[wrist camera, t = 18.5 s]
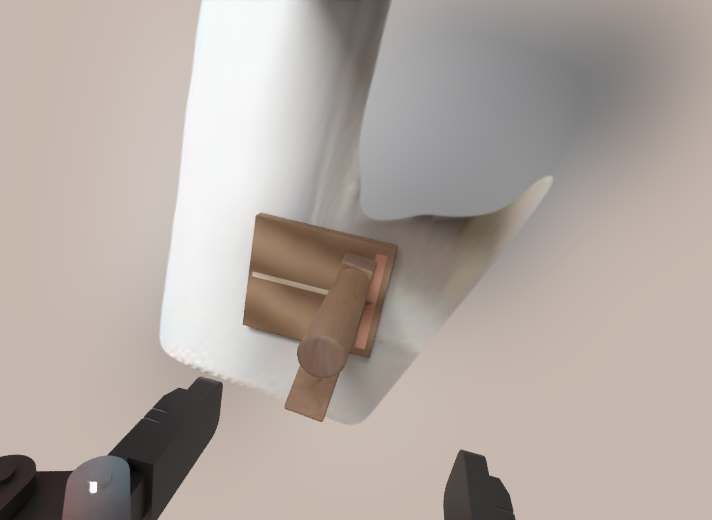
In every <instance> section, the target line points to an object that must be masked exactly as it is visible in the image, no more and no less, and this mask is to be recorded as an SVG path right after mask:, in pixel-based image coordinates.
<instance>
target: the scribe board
mask: <svg viewBox="0 0 712 520" xmlns="http://www.w3.org/2000/svg"><path fill="white" fill-rule="evenodd" d="M396 250H397V245H392V244H388V243H384V242H380V241H376V240H372V239H368V238H363V237H359V236H355V235H351V234H347V233H343V232H339V231H334V230H330V229H326V228H322V227H318V226H314V225H310V224H305V223H301V222H297V221H293V220H289V219H285V218H281V217H276V216H272V215H268V214H264V213H260V214H258V215H256V220H255V228H254V236H253V245H252V253H251V261H250V269H249V277H248V286H247V294H246V302H245V310H244V318H243V325H246V326H249V327H253V328H257V329H261V330H264V331H268V332H272V333H276V334H280V335H283V336H287V337H291V338H295V339H298V340H302V338H303V337H304V335H305V333H306V331H307V329H308V328H309V326H310V324H311V322H312V320H313V319H314V317H315V315H316V313H317V311H318V310H319V308H320V306H321V304H322V303H323V301H324V299H325V297H326V295H327V294H328V292H329V290H330V288H331V286H332V285H333V283H334V281H335V279H336V276H337V273H338V270H339V267H340V264H341V261H342V260H343V258H344V256H345V254H346V253H347V252H351V253H354V254H356V255H359V256H362V257H365V258H368V259H371V260H374V261H376V262H377V266H376V269H375V272H374V275H373V278H372V281H371V284H370V287H369V292H368V295H367V298H366V301H365V304H364V307H363V311H362V314H361V317H360V320H359V323H358V326H357V329H356V333H355V336H354V339H353V342H352V345H351V348H350V351H349V353H351V354H355V355H359V356H363V357H366V358H370V354H371V350H372V346H373V342H374V338H375V334H376V330H377V326H378V322H379V318H380V314H381V310H382V306H383V302H384V298H385V294H386V290H387V286H388V282H389V278H390V274H391V270H392V266H393V262H394V258H395V254H396Z"/></svg>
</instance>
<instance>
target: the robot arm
mask: <svg viewBox="0 0 712 520" xmlns="http://www.w3.org/2000/svg"><path fill="white" fill-rule="evenodd" d="M222 389H223V384H222V383H221V382H219V381H215V380H212V379H208V378H204V377H199V378H198V379H196V380H195V382H194V383H193V384H192V385H191V386H190V387H189V388H188V390H186V389H182V388H178V389H176V390H174V391H172V392H170V393H168V394H166V395H164V396H163V397H162V398H161V399H160V400H159V401H158V403H156V405H155V406H154V407H153V409H151V410H150V411H149V412H148V413H147V414H146V415H145V416H144V418H143V419H141V420H140V422H138V424H137V425H136V426H135V427H134V428H133V429H132V430H131V431H130V432H129V433H128V434H127V435H126V436H125V437H124V438H123V439H122V440H121V441H120V442H119V444H118V445H117V446H116V447H115V448H114V449H113V450H112V451H111V452H110V453H109V454H108V455H107V456H101V457H97V458H93V459H91V460H88V461H86V462H84V463H83V464H81V465H80V466H79V467H77V468H76V469H75V470H73V471H39V472H38V471H36V465H35V462H34V461H33V460H32V459H31V458H29V457H27V456H24V455H8V456H2V457H0V520H157V519H158V518H159V516H160V515H161V513H162V512H163V510H164V509H165V507H166V506H167V504H168V503H169V501H170V500H171V498H172V497H173V495H174V494H175V492H176V490H177V489H178V488H179V486H180V485H181V483H182V482H183V480H184V479H185V477H186V476H187V474H188V473H189V471H190V470H191V468H192V467H193V465H194V464H195V462H196V461H197V459H198V458H199V456H200V455H201V453H202V452H203V450H204V449H205V448H206V446H207V445H208V443H209V441H210V440H211V438H212V437H213V435H214V433H215V431H216V428H217V425H218V422H219V416H220V407H221V398H222ZM444 520H515V516H514V514H513V507H512V503H511V499H510V495H509V493H508V492H507V490H506V489H505V487H504V485H503V483H502V482H501V480H500V479H499V478H496V477H492V476H489V472H488V467H487V462H486V458H485V457H484V456H482V455H478V454H475V453H471V452H468V451H464V450H460V451H459V453H458V455H457V458H456V460H455V463H454V466H453V468H452V471H451V474H450V476H449V479H448V482H447V484H446V488H445V493H444Z"/></svg>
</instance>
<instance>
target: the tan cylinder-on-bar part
mask: <svg viewBox="0 0 712 520" xmlns="http://www.w3.org/2000/svg"><path fill="white" fill-rule="evenodd" d="M376 266H377V262H376V261H374V260H371V259H368V258H365V257H362V256H359V255H356V254H354V253H351V252H347V253H346V254H345V256H344V258H343V260H342V261H341V264H340V267H339V270H338V273H337V276H336V279H335V281H334V283H333V285H332V286H331V288H330V290H329V292H328V294H327V295H326V297H325V299H324V301H323V303H322V304H321V306H320V308H319V310H318V311H317V313H316V315H315V317H314V319H313V320H312V322H311V324H310V326H309V328H308V329H307V331H306V333H305V335H304V337H303V338H302V340H301V342H300V344H299V346H298V350H297V356H298V360H299V363H300V367H299V370H298V373H297V375H296V378H295V380H294V383H293V385H292V388H291V391H290V393H289V396H288V398H287V401H286V403H285V409H287V410H290V411H293V412H296V413H298V414H301V415H304V416H306V417H309V418H312V419H314V420H317V421H320V422H322V421H323V419H324V417H325V414H326V411H327V408H328V405H329V402H330V399H331V396H332V394H333V391H334V388H335V385H336V382H337V379H338V376H339V373H340V371H342V369H343V368H344V366H345V364H346V361H347V358H348V355H349V351H350V348H351V345H352V342H353V339H354V336H355V333H356V329H357V326H358V323H359V320H360V317H361V314H362V311H363V307H364V304H365V301H366V298H367V295H368V292H369V287H370V284H371V281H372V278H373V275H374V272H375V269H376Z"/></svg>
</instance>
